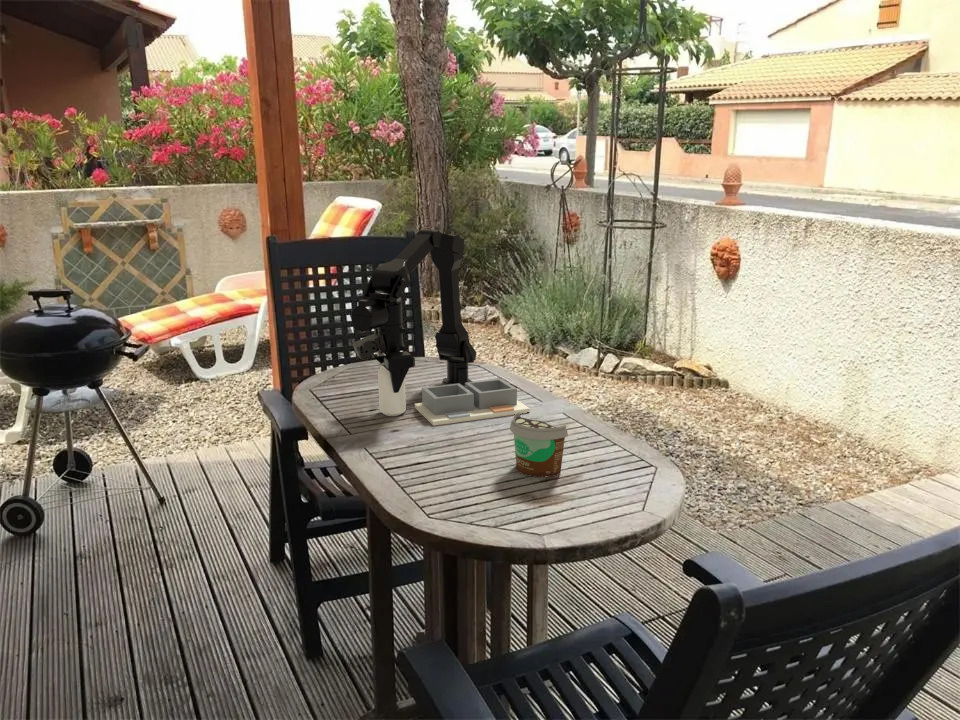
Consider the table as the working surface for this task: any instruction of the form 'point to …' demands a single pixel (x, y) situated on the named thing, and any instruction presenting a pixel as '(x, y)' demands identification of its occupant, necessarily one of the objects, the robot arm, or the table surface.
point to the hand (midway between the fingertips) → (392, 388)
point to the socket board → (469, 401)
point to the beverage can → (390, 394)
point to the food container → (537, 446)
